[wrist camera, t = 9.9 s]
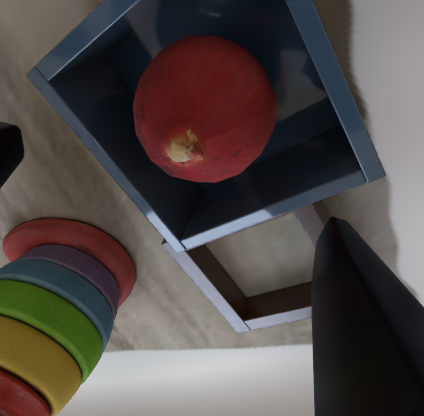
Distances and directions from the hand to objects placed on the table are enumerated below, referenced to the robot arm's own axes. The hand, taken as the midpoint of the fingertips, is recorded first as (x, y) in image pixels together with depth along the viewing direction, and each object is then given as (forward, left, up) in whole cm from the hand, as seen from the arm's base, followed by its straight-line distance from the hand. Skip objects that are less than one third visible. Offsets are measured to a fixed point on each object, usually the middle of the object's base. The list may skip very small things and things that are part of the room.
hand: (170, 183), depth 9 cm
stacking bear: (-18, -6, -10) cm, 22 cm away
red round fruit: (0, 0, -10) cm, 10 cm away
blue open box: (0, 0, -10) cm, 10 cm away
